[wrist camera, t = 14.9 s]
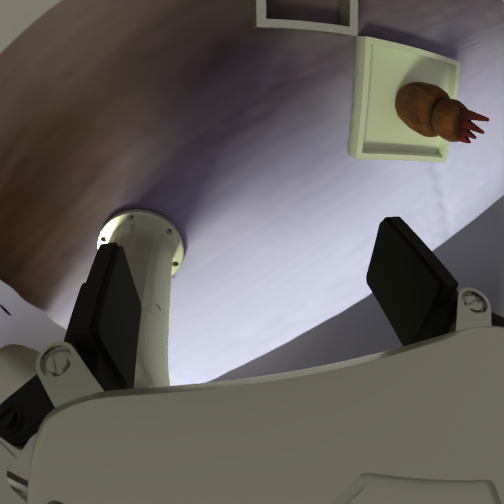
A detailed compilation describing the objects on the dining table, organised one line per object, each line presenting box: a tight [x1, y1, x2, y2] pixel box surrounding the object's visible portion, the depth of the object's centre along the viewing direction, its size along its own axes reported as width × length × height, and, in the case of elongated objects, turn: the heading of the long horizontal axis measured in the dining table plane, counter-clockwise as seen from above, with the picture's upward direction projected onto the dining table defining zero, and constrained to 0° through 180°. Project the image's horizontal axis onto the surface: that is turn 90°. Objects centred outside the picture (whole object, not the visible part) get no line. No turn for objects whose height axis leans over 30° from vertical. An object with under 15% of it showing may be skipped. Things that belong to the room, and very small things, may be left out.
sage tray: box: [348, 36, 461, 163], centre depth 34 cm, size 16×16×2 cm
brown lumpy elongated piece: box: [395, 82, 489, 143], centre depth 28 cm, size 7×6×15 cm
